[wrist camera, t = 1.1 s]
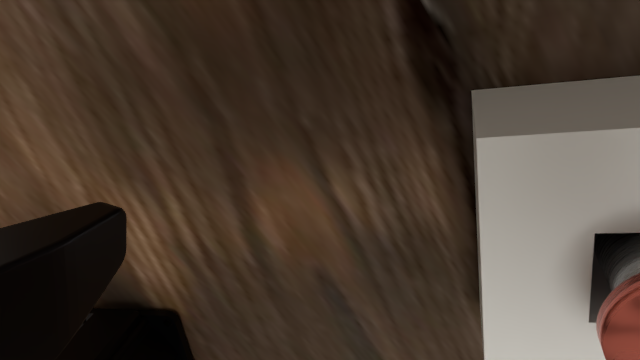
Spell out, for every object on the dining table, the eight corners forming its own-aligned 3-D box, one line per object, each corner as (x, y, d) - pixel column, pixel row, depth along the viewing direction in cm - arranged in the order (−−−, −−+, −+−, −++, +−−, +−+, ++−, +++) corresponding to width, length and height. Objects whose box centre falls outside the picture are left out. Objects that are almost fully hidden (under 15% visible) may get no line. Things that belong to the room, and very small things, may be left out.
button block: (739, 308, 21) (815, 411, 16) (479, 303, 23) (485, 390, 19) (792, 62, 17) (912, 110, 12) (471, 90, 19) (476, 138, 15)
